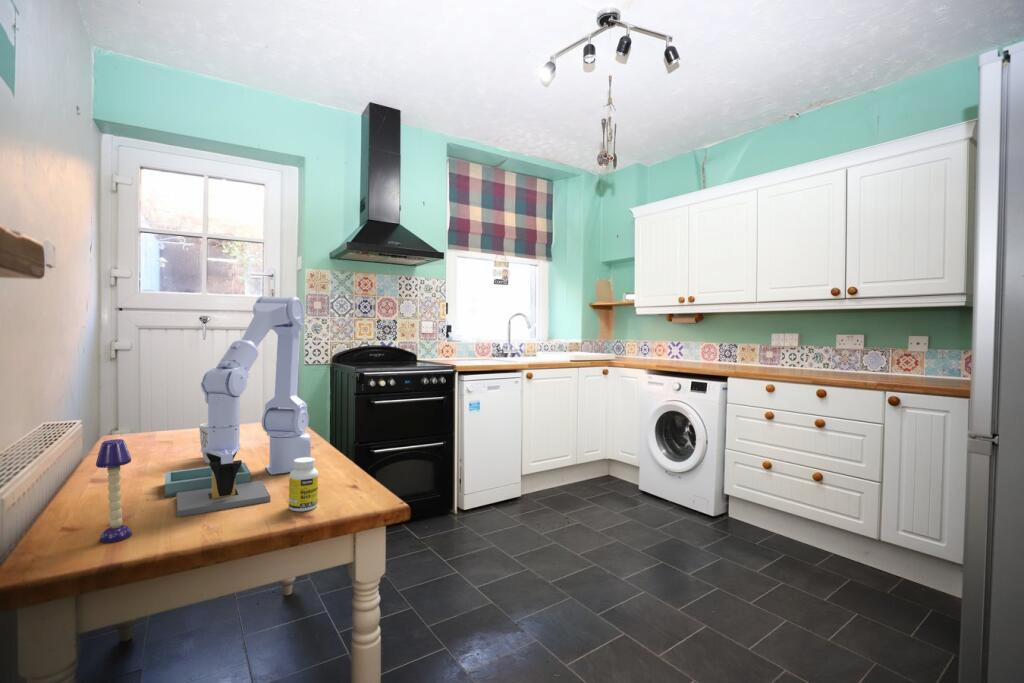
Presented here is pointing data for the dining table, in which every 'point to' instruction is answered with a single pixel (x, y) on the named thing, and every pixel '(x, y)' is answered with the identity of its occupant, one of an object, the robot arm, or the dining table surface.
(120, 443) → the toy lamp
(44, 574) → the dining table surface
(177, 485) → the parts tray
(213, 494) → the block
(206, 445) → the mug
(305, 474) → the supplement bottle
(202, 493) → the socket block
